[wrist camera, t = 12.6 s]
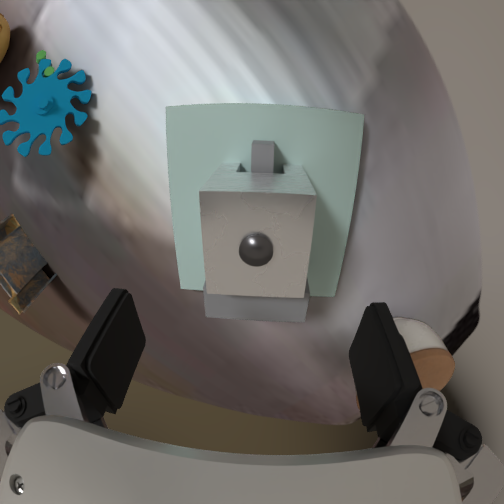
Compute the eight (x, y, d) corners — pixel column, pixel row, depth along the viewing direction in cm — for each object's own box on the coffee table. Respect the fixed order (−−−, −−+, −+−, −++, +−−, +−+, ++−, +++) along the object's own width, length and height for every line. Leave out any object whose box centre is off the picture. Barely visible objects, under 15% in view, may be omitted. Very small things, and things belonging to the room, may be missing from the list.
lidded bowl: (343, 313, 31) (362, 392, 21) (435, 290, 29) (475, 354, 19) (346, 372, 37) (357, 437, 27) (422, 352, 34) (444, 409, 25)
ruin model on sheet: (59, 271, 31) (20, 316, 23) (52, 280, 32) (15, 322, 24) (15, 210, 27) (-32, 244, 19) (9, 222, 28) (-34, 255, 20)
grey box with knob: (222, 162, 22) (197, 192, 15) (301, 164, 21) (317, 197, 14) (224, 238, 25) (206, 296, 18) (295, 241, 25) (304, 300, 18)
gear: (95, 143, 21) (-3, 169, 15) (87, 149, 25) (7, 171, 19) (94, 40, 17) (0, 58, 11) (85, 61, 21) (6, 78, 15)
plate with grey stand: (171, 106, 21) (132, 109, 14) (358, 113, 20) (395, 119, 14) (184, 280, 30) (164, 328, 23) (331, 288, 29) (345, 338, 23)
